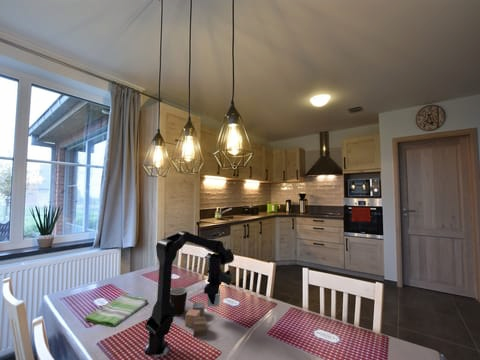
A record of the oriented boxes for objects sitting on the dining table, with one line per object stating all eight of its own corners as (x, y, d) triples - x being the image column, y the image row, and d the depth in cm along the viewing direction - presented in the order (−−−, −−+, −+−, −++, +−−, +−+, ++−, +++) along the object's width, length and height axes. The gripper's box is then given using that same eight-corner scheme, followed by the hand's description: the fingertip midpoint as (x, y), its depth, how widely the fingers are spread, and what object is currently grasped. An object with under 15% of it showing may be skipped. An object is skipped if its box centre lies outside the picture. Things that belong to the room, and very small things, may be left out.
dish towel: (148, 303, 121) (149, 296, 121) (115, 328, 98) (115, 320, 99) (121, 299, 125) (122, 292, 125) (83, 322, 103) (83, 314, 103)
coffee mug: (182, 317, 107) (182, 295, 107) (165, 315, 109) (165, 293, 109) (192, 305, 118) (192, 285, 119) (176, 303, 120) (177, 284, 120)
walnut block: (205, 335, 94) (206, 323, 94) (193, 336, 93) (193, 324, 93) (205, 328, 99) (206, 316, 99) (194, 329, 98) (194, 317, 98)
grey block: (203, 318, 107) (203, 307, 107) (192, 318, 106) (192, 307, 107) (204, 312, 112) (204, 302, 112) (193, 313, 111) (194, 302, 112)
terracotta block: (196, 327, 99) (196, 316, 99) (185, 326, 100) (185, 314, 100) (200, 321, 104) (200, 310, 104) (189, 320, 105) (190, 309, 105)
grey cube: (218, 306, 104) (218, 295, 104) (207, 306, 104) (207, 294, 104) (219, 301, 109) (220, 290, 109) (209, 300, 109) (209, 290, 109)
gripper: (230, 274, 98) (229, 312, 97) (233, 261, 116) (232, 293, 115) (204, 273, 98) (203, 311, 97) (211, 261, 117) (210, 292, 116)
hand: (213, 301), depth 106 cm, fingers closed on grey cube, 5 cm apart
